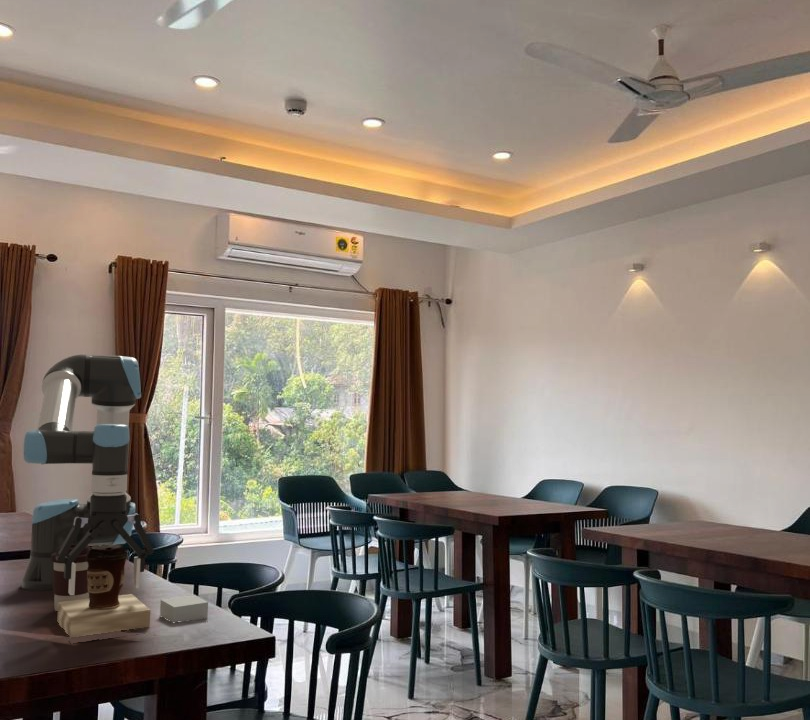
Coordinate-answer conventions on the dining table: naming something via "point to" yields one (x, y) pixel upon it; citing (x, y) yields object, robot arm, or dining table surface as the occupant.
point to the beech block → (102, 616)
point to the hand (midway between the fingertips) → (104, 590)
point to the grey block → (184, 608)
